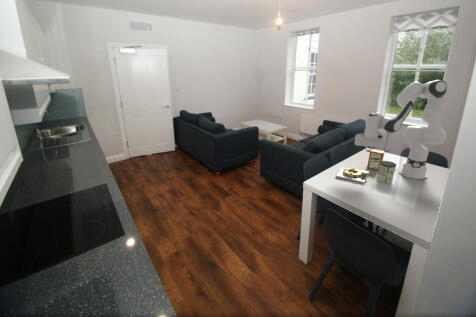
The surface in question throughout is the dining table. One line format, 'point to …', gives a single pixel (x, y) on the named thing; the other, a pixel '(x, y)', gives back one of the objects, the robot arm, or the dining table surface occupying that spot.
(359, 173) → the ring nut
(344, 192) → the dining table surface
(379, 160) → the baking soda box
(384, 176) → the coffee can
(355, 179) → the base plate
